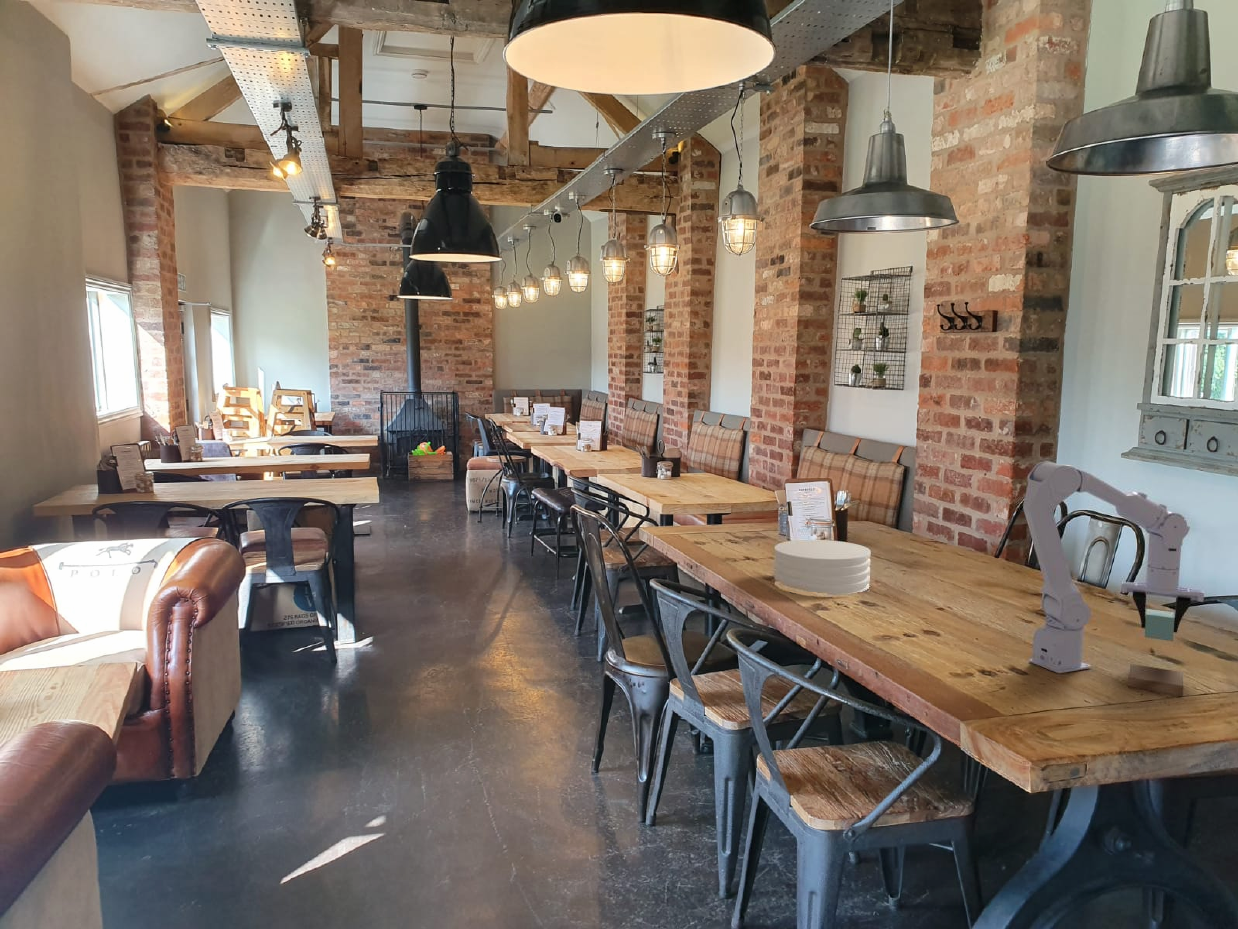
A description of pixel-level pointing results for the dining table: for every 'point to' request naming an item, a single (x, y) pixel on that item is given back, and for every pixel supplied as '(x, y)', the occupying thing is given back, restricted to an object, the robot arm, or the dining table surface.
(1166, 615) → the teal cube
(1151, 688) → the walnut base
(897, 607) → the dining table surface
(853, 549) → the plate stack
